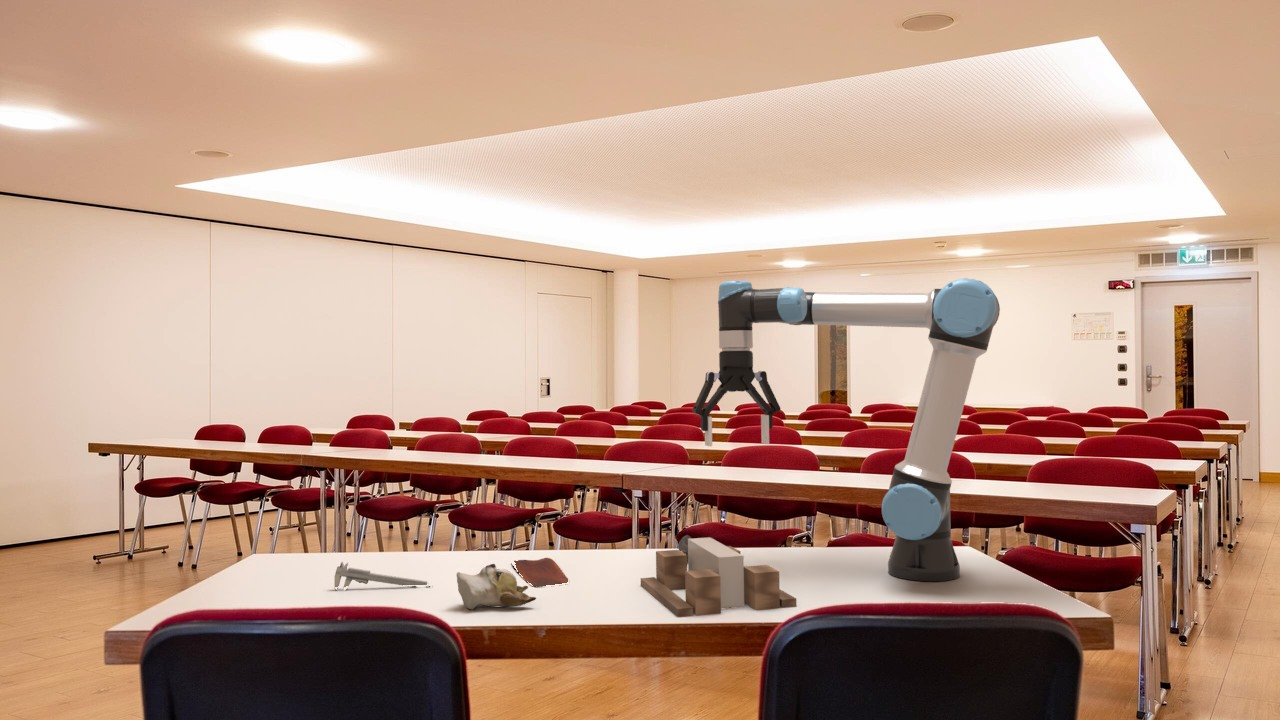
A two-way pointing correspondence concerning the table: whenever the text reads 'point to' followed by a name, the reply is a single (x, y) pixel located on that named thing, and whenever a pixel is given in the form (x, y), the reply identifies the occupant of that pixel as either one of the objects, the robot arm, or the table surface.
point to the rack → (710, 586)
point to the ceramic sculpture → (491, 588)
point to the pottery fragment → (684, 544)
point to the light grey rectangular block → (719, 568)
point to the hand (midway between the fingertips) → (737, 444)
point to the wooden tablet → (541, 572)
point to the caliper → (370, 577)
